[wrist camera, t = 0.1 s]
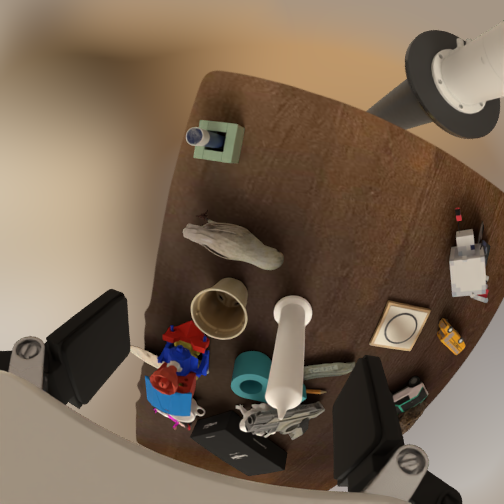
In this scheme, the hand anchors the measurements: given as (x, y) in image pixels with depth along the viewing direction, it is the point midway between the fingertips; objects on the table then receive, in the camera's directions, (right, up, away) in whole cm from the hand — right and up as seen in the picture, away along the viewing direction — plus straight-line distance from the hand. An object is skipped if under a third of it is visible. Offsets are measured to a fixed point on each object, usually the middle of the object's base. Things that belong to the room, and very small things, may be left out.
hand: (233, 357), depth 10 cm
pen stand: (-4, +22, +33) cm, 40 cm away
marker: (-4, +22, +33) cm, 40 cm away
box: (-2, -49, +56) cm, 75 cm away
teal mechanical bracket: (+6, -20, +41) cm, 46 cm away
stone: (+15, -18, +41) cm, 47 cm away
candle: (+8, -7, +40) cm, 42 cm away
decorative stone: (-23, -21, +50) cm, 59 cm away
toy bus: (+43, -12, +34) cm, 56 cm away
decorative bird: (-1, +6, +38) cm, 38 cm away
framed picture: (+30, -11, +37) cm, 49 cm away
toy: (+38, -5, +28) cm, 47 cm away
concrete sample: (+41, -37, +38) cm, 67 cm away
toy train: (-13, -17, +47) cm, 52 cm away
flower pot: (-3, -3, +41) cm, 42 cm away
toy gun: (+4, -41, +45) cm, 61 cm away
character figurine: (-21, -42, +57) cm, 74 cm away
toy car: (+36, -29, +43) cm, 63 cm away
